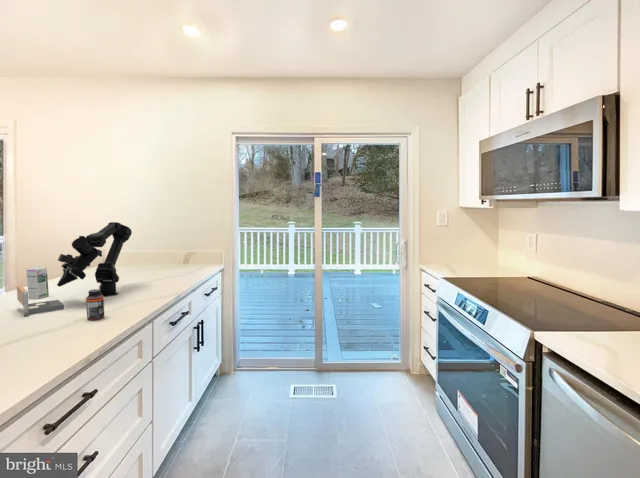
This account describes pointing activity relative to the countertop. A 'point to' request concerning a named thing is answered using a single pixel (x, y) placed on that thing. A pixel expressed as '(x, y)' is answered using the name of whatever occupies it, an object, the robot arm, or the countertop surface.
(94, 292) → the supplement bottle
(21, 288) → the peach rectangular plank
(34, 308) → the plate
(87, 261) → the robot arm
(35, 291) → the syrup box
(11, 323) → the countertop surface
